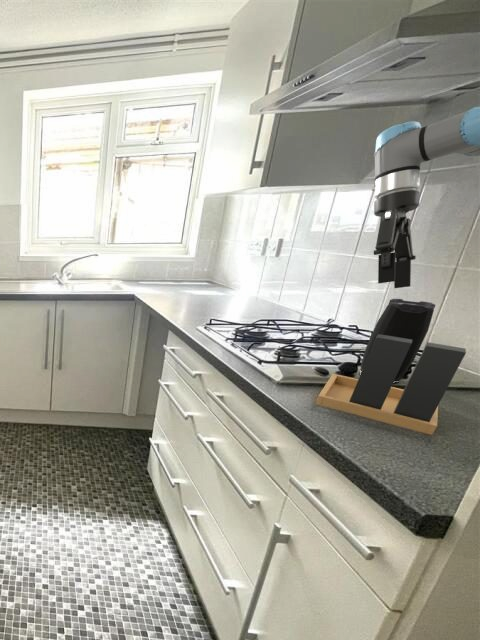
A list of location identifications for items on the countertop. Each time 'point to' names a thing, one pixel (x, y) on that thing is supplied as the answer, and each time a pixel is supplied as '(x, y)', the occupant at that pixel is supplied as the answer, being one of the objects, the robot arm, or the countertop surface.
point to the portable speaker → (403, 328)
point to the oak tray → (339, 396)
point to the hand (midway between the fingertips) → (394, 285)
